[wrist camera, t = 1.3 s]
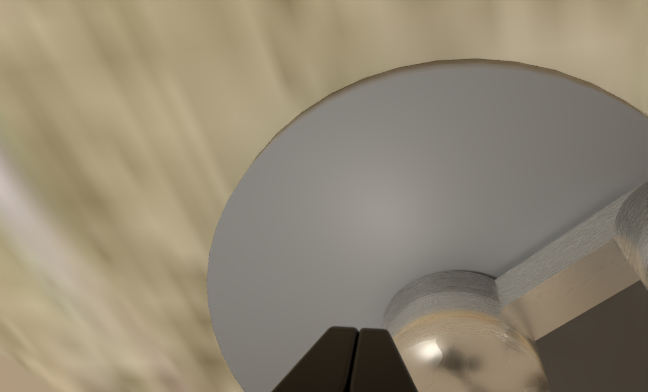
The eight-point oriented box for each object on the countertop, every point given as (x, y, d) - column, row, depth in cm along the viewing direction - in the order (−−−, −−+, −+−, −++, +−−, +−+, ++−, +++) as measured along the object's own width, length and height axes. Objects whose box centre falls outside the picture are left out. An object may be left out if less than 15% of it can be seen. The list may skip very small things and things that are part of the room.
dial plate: (829, 328, 19) (863, 360, 17) (428, 516, 26) (429, 550, 25) (490, -79, 15) (498, -80, 13) (133, 276, 22) (114, 299, 21)
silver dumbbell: (445, 405, 20) (455, 544, 16) (352, 322, 19) (333, 446, 15) (755, 229, 16) (897, 353, 11) (654, 107, 15) (765, 189, 10)
